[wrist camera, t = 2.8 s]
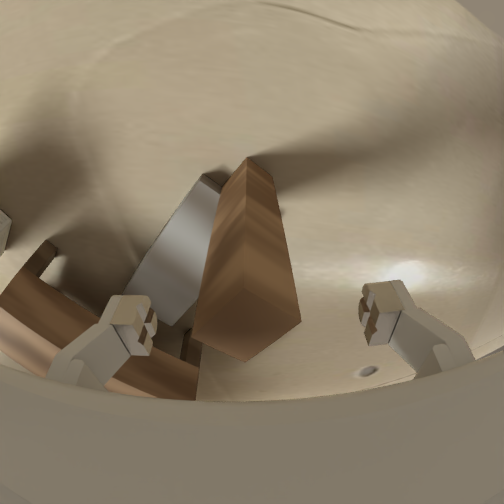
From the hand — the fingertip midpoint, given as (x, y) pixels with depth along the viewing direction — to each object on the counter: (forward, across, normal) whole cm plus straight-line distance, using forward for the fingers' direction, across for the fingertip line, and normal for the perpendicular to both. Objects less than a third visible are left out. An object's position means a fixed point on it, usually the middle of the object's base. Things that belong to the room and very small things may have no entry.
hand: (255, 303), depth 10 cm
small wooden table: (+12, +18, +14) cm, 25 cm away
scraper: (+13, +5, +5) cm, 15 cm away
